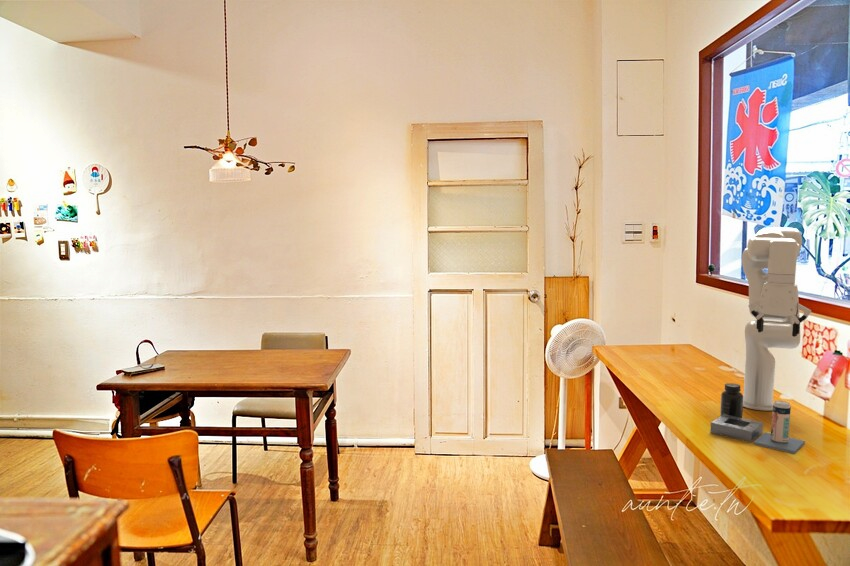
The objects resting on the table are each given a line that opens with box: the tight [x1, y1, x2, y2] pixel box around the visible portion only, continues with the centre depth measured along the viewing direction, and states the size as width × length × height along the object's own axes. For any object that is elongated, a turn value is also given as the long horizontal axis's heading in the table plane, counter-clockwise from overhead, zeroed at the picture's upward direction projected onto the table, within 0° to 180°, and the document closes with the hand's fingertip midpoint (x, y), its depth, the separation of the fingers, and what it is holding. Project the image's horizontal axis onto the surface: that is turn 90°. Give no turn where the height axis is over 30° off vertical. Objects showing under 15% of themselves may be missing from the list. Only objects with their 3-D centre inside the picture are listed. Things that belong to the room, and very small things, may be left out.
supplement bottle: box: [719, 382, 744, 418], centre depth 213 cm, size 7×7×12 cm
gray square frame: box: [709, 414, 764, 443], centre depth 199 cm, size 12×12×4 cm
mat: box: [753, 432, 806, 455], centre depth 190 cm, size 12×11×1 cm
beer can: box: [770, 400, 792, 443], centre depth 189 cm, size 5×5×12 cm
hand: (777, 333), depth 195 cm, fingers open, 9 cm apart
